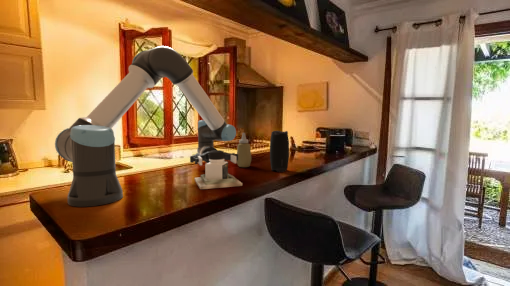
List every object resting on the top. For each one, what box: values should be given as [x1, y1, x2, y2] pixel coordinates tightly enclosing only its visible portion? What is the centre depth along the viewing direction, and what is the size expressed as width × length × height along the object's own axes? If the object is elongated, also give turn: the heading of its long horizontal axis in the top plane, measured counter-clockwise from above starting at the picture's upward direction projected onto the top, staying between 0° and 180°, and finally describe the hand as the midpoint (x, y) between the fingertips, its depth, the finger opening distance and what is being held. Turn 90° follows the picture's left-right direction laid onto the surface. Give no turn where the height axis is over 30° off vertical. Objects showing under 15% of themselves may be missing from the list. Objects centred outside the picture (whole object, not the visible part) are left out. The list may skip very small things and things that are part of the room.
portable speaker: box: [269, 130, 290, 173], centre depth 135 cm, size 9×9×20 cm
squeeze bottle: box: [236, 132, 252, 168], centre depth 147 cm, size 8×8×18 cm
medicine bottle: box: [204, 149, 229, 180], centre depth 110 cm, size 7×7×12 cm
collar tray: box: [194, 172, 243, 190], centre depth 111 cm, size 16×16×2 cm
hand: (218, 160), depth 108 cm, fingers open, 13 cm apart
